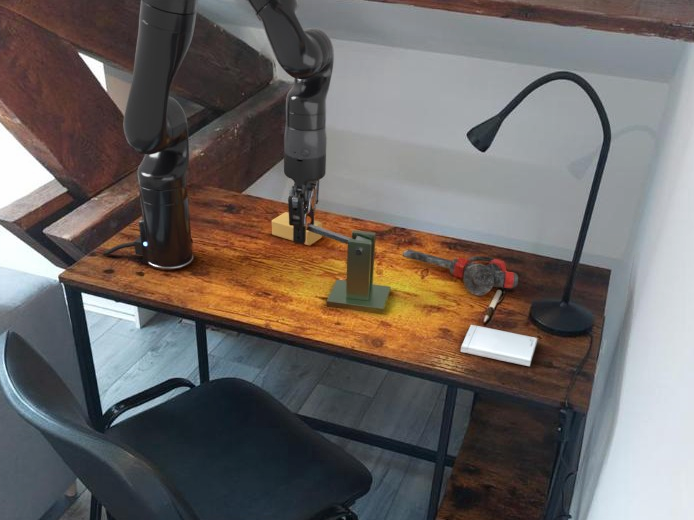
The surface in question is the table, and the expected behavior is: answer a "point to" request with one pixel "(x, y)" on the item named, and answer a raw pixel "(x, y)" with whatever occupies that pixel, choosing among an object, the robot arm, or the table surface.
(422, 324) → the table surface
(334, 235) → the lever
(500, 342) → the hard drive
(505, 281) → the valve
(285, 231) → the rubber stamp
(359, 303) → the bracket
